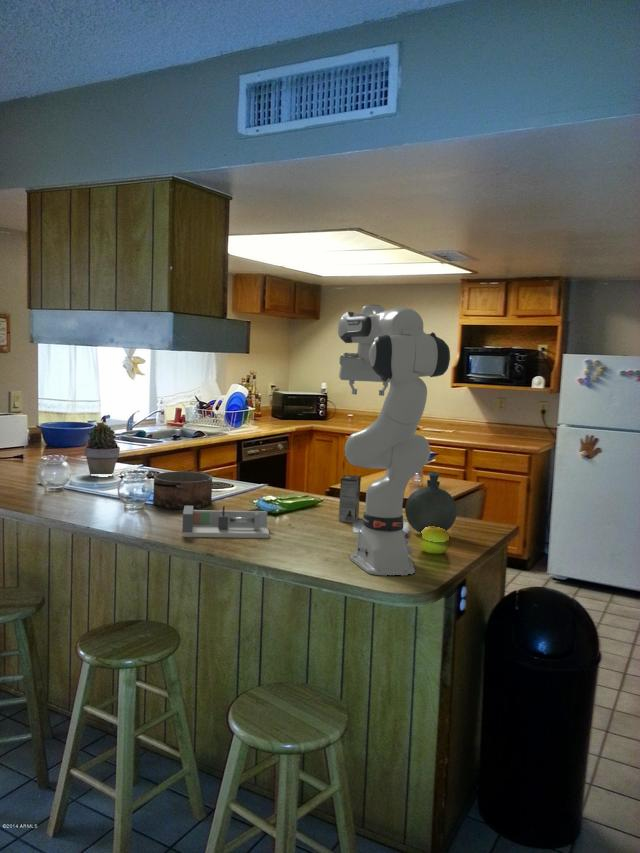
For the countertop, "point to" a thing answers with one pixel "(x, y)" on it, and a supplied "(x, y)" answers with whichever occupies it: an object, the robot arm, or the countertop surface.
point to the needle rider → (223, 520)
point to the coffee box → (349, 498)
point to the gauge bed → (207, 524)
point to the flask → (431, 506)
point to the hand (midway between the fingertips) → (367, 395)
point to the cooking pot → (182, 490)
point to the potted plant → (101, 450)
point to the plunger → (248, 520)
